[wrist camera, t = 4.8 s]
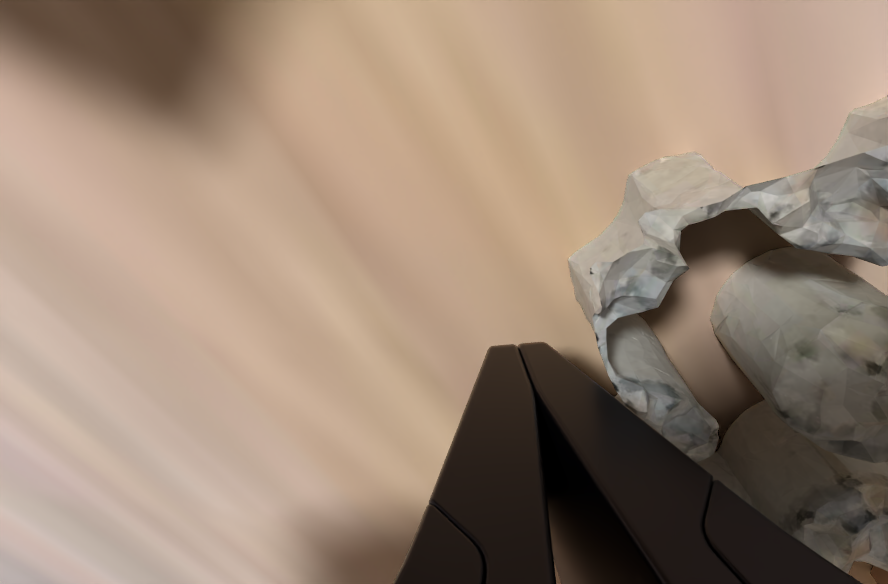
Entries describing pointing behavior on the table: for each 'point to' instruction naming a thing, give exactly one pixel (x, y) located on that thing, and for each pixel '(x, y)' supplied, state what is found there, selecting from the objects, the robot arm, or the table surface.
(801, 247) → the egg carton
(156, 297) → the table surface
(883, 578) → the frame
